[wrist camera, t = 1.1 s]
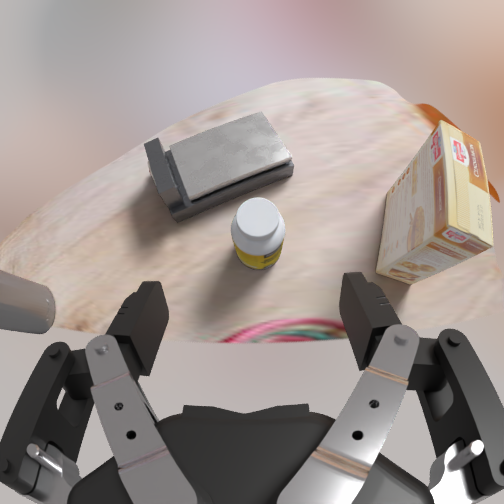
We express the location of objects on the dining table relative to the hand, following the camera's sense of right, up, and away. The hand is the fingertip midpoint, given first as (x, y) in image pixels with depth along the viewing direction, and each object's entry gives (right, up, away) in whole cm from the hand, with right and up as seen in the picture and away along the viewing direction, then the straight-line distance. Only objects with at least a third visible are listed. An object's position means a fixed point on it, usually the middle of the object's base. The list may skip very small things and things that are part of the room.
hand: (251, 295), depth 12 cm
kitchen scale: (-5, +16, +33) cm, 37 cm away
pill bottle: (+1, +2, +29) cm, 29 cm away
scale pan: (-4, +17, +30) cm, 35 cm away
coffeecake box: (+24, +4, +29) cm, 38 cm away
